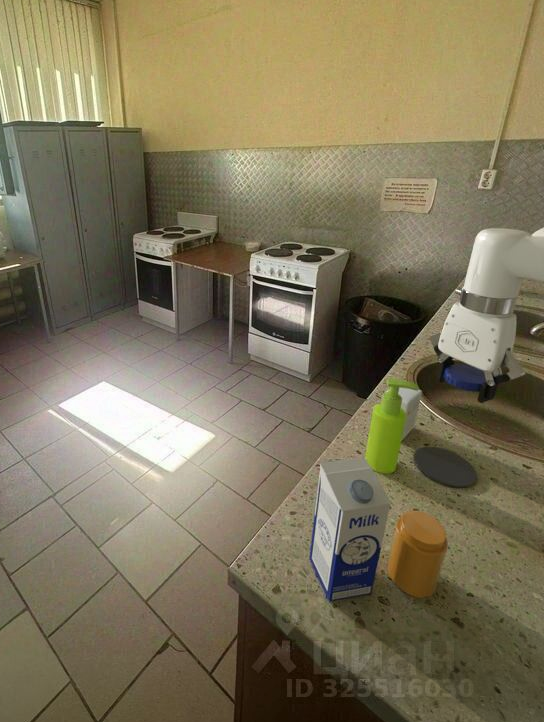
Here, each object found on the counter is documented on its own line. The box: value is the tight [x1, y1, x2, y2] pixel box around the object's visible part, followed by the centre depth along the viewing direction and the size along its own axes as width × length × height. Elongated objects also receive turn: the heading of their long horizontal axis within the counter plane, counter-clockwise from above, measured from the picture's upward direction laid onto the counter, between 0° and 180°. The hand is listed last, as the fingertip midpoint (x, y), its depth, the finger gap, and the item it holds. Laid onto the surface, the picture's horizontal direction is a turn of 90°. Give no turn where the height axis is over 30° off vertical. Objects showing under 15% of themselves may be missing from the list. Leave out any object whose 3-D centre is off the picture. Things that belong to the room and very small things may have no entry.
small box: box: [380, 388, 423, 442], centre depth 91 cm, size 8×6×10 cm
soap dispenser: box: [364, 378, 420, 475], centre depth 79 cm, size 6×7×20 cm
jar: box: [386, 510, 449, 599], centre depth 59 cm, size 7×7×10 cm
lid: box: [443, 363, 486, 393], centre depth 73 cm, size 7×7×2 cm
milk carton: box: [309, 456, 392, 602], centre depth 58 cm, size 7×7×20 cm
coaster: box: [412, 446, 477, 489], centre depth 81 cm, size 11×11×1 cm
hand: (463, 389), depth 74 cm, fingers closed on lid, 6 cm apart
